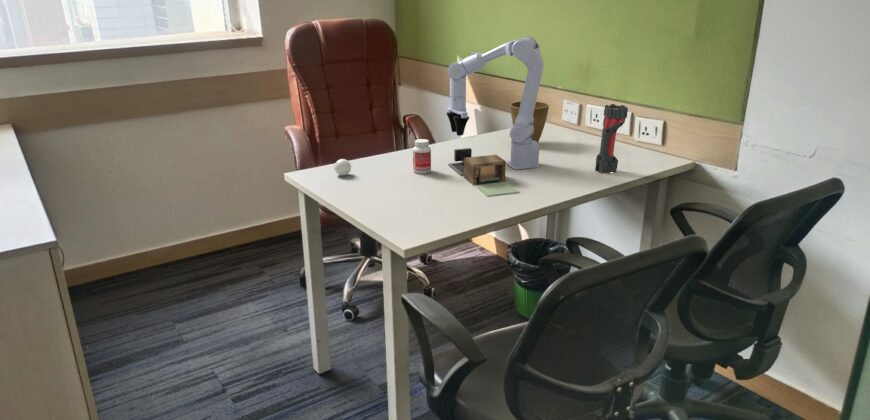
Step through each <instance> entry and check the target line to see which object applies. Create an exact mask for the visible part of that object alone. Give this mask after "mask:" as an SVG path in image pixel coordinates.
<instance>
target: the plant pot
mask: <svg viewBox="0 0 870 420" xmlns="http://www.w3.org/2000/svg"><path fill="white" fill-rule="evenodd" d="M520 104H521V101H514V102H512V103H510V104H509V106H510V107H509V108H510V114H511V121H512V127H513V126H514V124H515V120H516V118H517V116H518V113H519V109H520ZM549 106H550V105H549V104H548V103H546V102H541V101H536V104H535V108H534V113H533V118H534V121H533V126H534V132H533V134H532V135H531V138H532V140H535V141H537V143H538V144H539V141H540V140H541V137H542V134H543V132H544V127H545V125H546V120H547V117H548V112H549Z"/></svg>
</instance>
